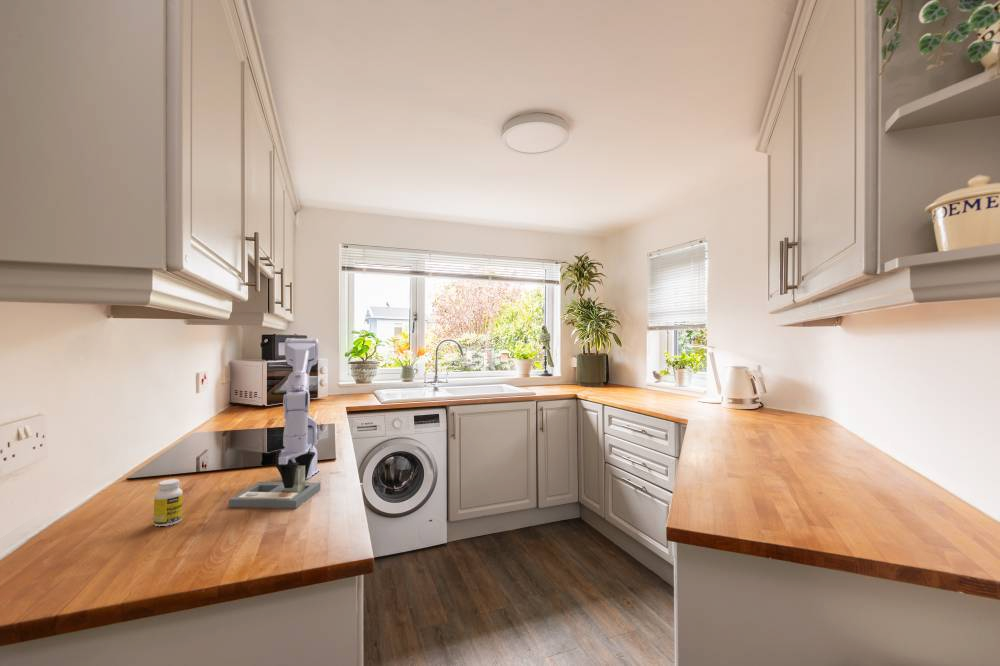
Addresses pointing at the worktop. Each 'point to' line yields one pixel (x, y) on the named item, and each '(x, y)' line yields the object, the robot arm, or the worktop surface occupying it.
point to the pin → (298, 481)
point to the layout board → (272, 496)
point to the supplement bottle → (168, 503)
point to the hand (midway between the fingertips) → (295, 483)
